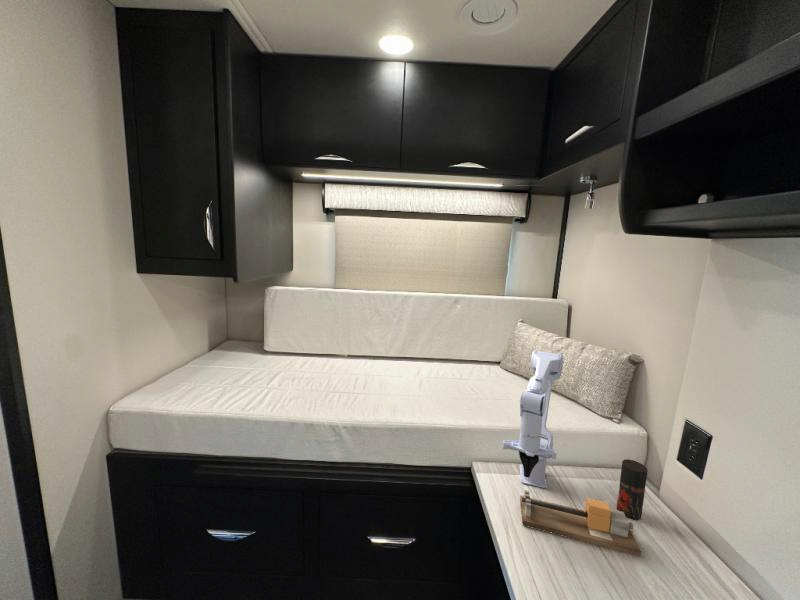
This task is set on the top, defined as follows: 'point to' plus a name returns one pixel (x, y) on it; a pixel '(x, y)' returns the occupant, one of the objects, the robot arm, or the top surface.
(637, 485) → the deodorant
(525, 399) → the robot arm
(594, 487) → the top surface
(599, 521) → the orange notched block
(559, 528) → the cord board
